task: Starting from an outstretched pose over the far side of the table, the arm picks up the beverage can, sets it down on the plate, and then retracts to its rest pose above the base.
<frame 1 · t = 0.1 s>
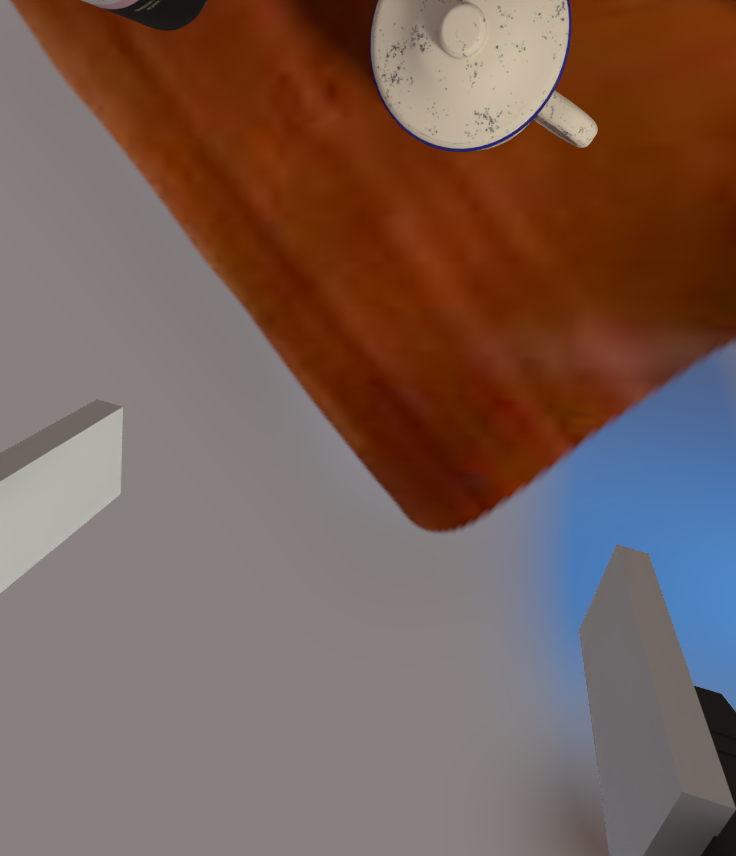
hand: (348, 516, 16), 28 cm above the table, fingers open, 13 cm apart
teacup with lid: (498, 84, 36), on the table
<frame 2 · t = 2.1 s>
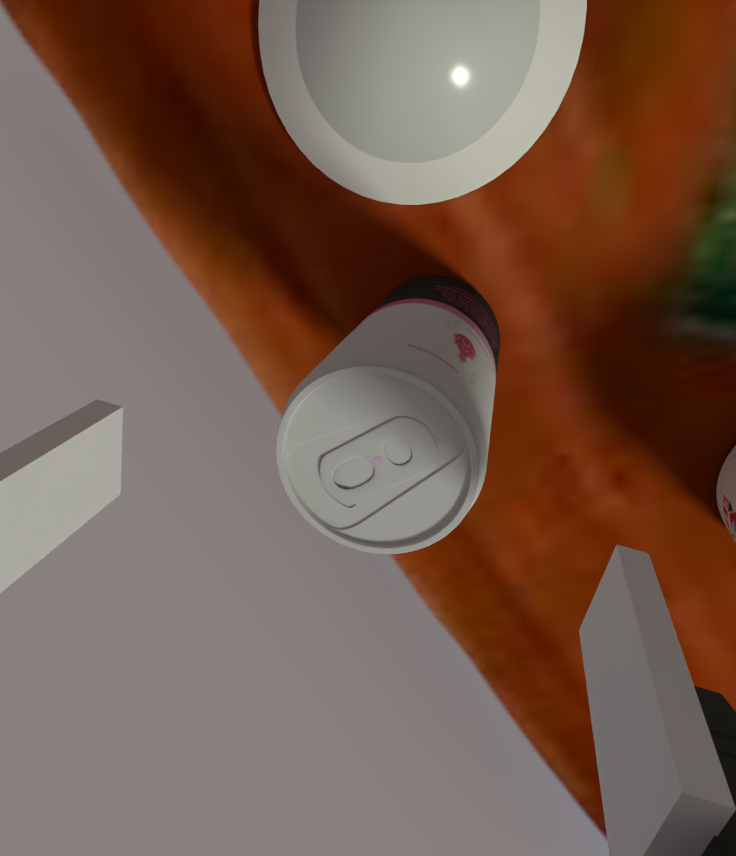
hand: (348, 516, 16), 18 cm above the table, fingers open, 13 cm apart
plate: (415, 33, 27), on the table
beverage can: (435, 338, 32), on the table
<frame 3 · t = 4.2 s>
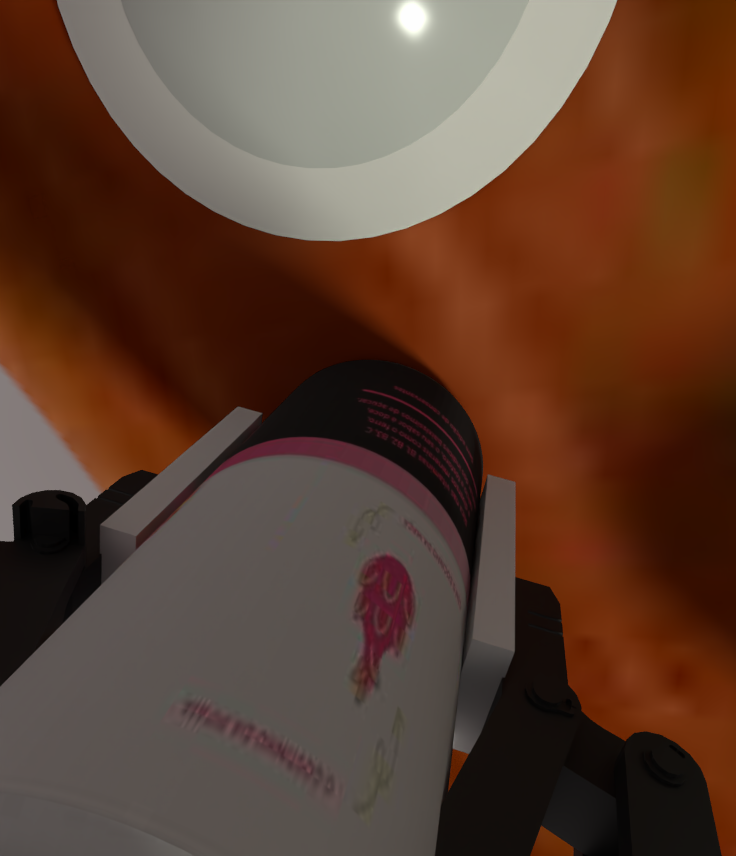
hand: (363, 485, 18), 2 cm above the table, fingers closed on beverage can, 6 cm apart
beverage can: (378, 453, 20), on the table, touching gripper
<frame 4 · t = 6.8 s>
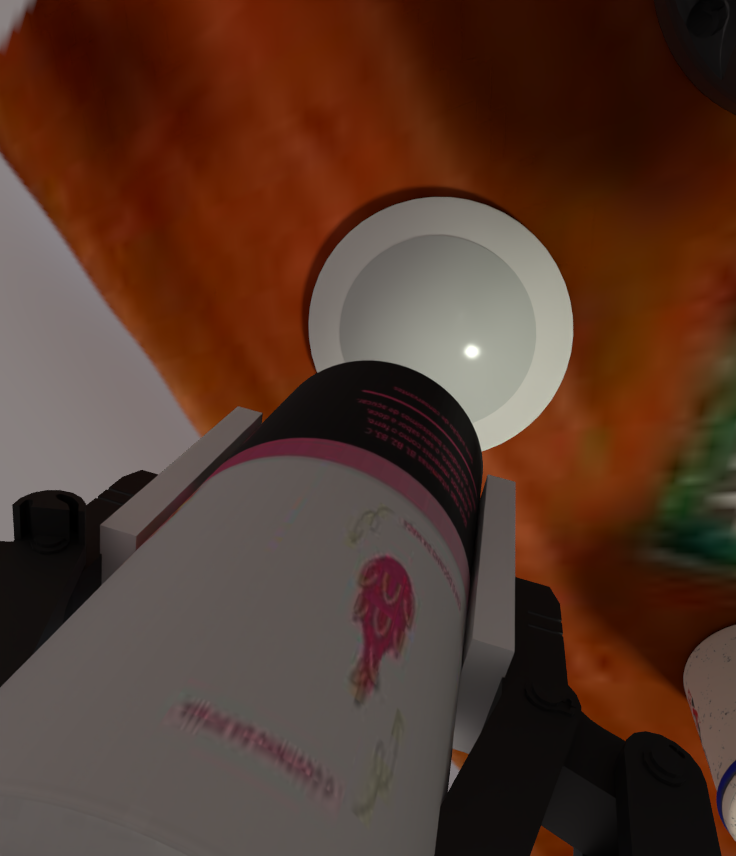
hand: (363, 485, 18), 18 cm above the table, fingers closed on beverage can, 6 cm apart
plate: (436, 334, 34), on the table
beverage can: (378, 454, 20), point 15 cm above the table, touching gripper
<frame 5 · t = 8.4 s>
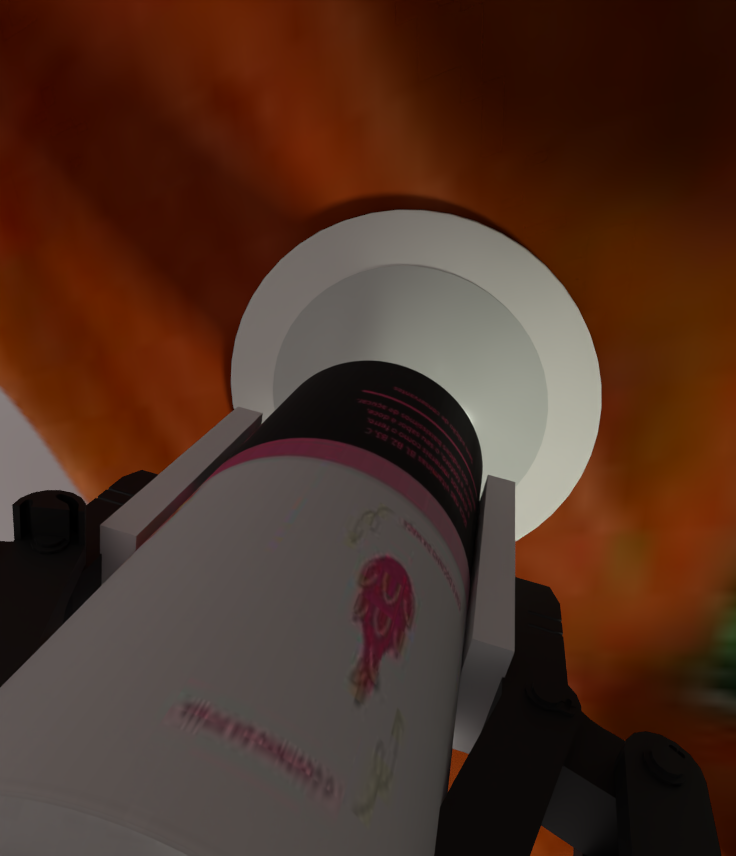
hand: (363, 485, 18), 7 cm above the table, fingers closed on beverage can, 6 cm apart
plate: (407, 401, 24), on the table
beverage can: (378, 454, 20), point 5 cm above the table, touching gripper
when the fingers open (4 cm above the table, at t = 9.5 s): beverage can drops 1 cm, resting on plate.
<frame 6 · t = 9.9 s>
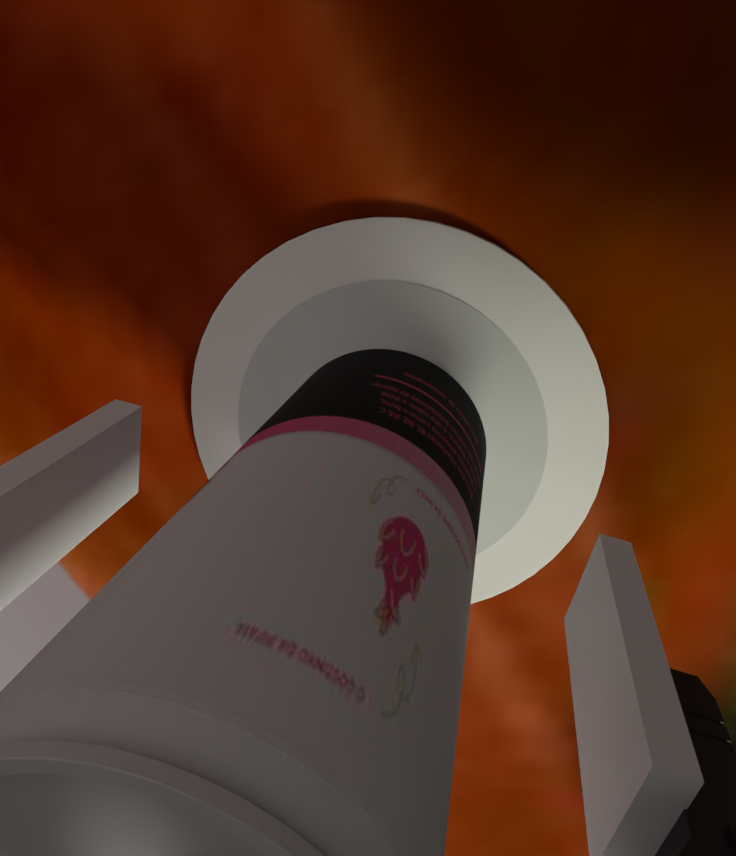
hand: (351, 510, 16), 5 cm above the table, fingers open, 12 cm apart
plate: (389, 431, 21), on the table
beverage can: (387, 438, 21), point 1 cm above the table, touching plate
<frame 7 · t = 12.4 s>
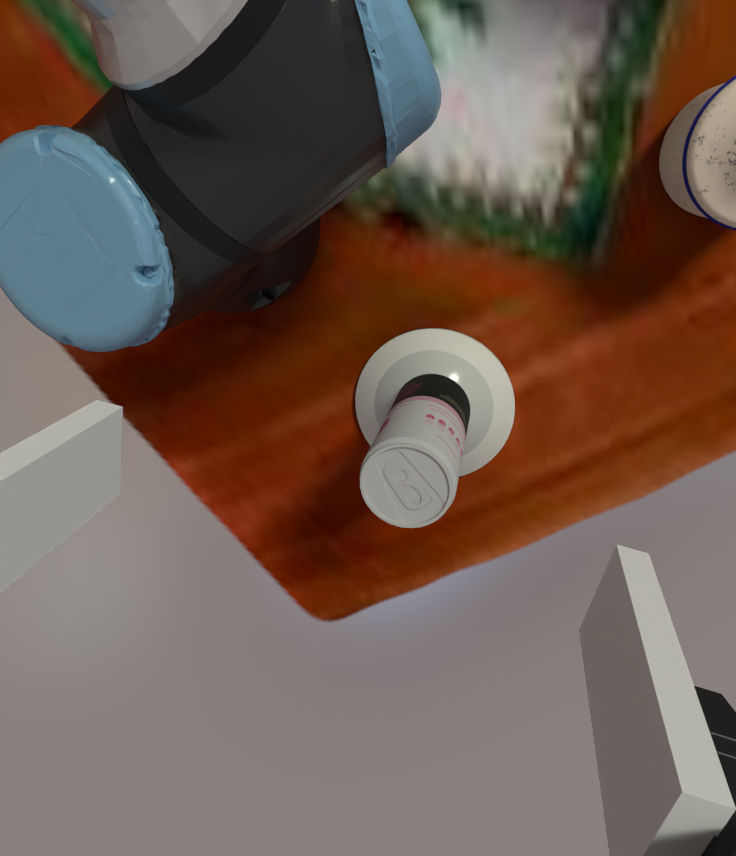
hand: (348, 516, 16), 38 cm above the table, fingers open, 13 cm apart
plate: (433, 405, 55), on the table
beverage can: (433, 407, 55), point 1 cm above the table, touching plate
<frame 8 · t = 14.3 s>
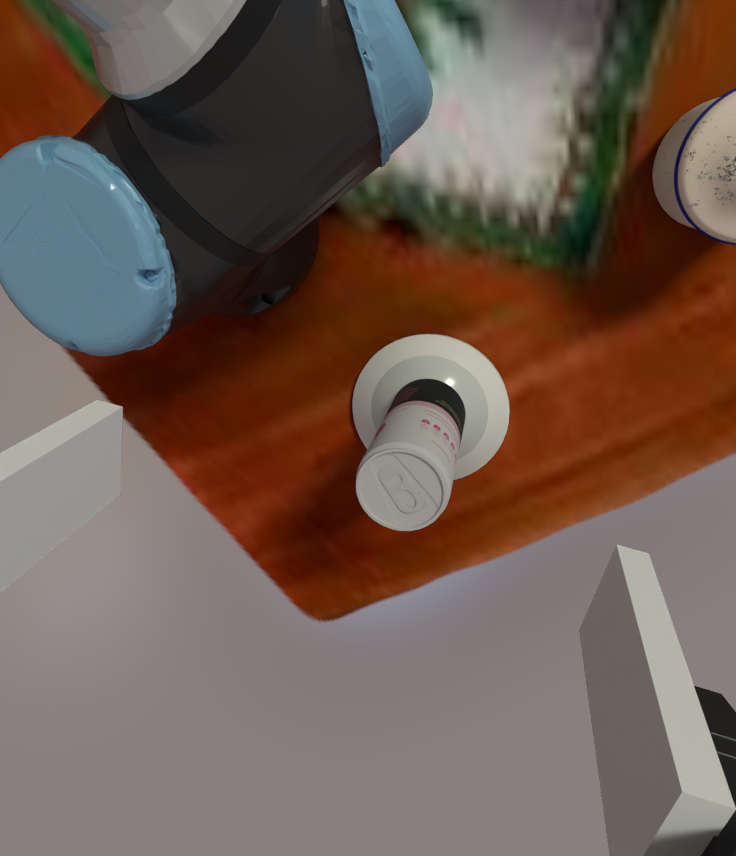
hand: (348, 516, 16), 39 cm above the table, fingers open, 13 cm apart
plate: (429, 409, 56), on the table
teacup with lid: (731, 146, 44), on the table
beverage can: (429, 411, 56), point 1 cm above the table, touching plate
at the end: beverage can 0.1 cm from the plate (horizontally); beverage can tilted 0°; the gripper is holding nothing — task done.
